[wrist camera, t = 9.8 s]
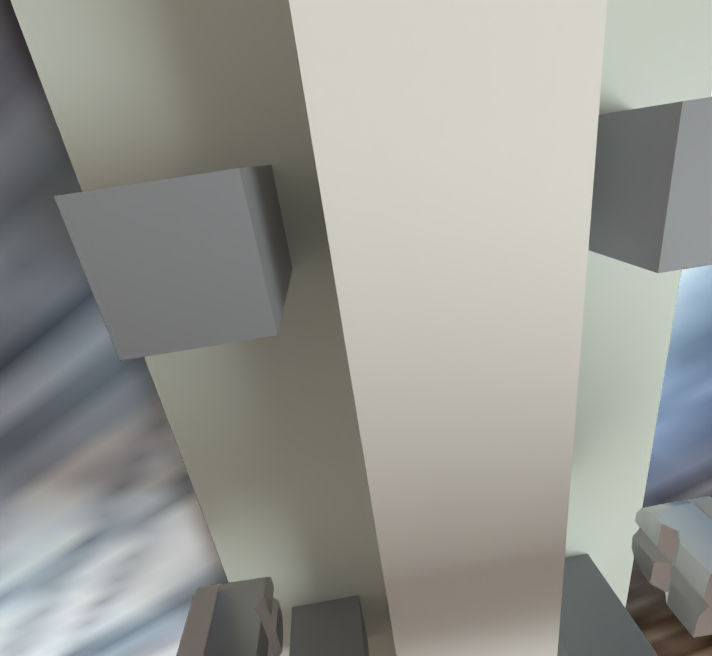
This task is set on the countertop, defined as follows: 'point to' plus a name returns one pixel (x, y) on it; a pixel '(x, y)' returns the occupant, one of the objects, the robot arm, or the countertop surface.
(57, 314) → the countertop surface
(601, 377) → the board
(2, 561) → the countertop surface
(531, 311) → the white long bar
